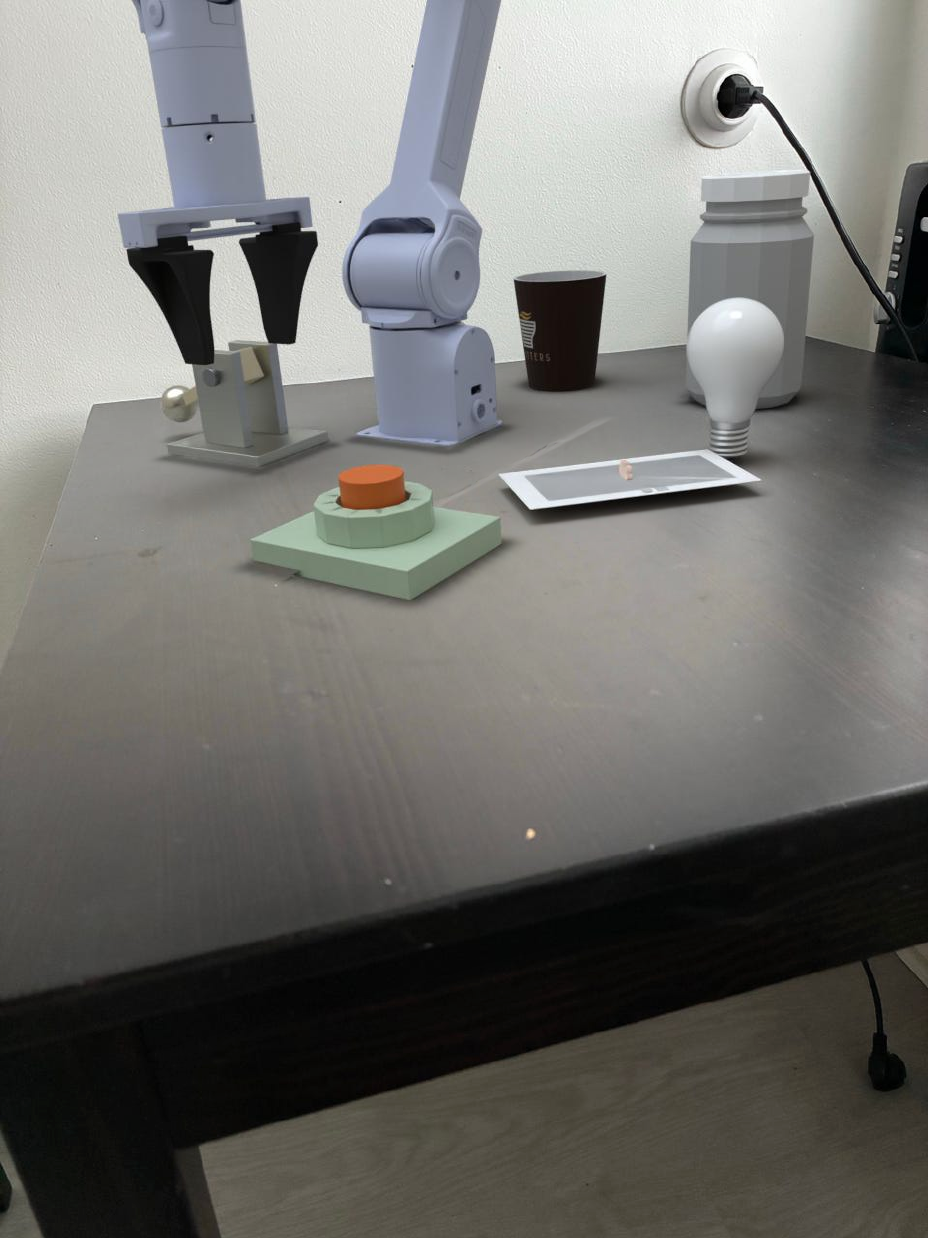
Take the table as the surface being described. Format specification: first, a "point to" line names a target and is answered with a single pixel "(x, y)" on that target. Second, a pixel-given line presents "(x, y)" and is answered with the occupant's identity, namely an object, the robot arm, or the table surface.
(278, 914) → the table surface
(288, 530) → the button box
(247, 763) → the table surface
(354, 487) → the button
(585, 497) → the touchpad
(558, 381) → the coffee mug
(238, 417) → the bracket
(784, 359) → the jar
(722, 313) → the lightbulb
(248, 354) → the lever
